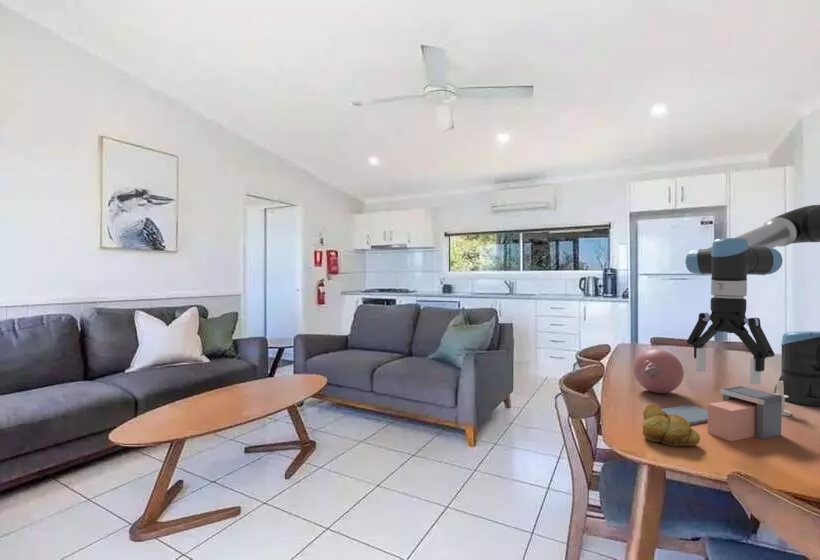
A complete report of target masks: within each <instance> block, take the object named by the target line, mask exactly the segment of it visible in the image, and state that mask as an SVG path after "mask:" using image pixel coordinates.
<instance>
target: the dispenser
mask: <svg viewBox="0 0 820 560" xmlns="http://www.w3.org/2000/svg"><path fill="white" fill-rule="evenodd" d="M719 391H720V395H722V402H723V401H728V400H734V399H743V400H746V401H750V402H754V403H757V427H756V436H755V437H756V438H758V439H761V440H764V439H771V438H773V437H778V436H781V435H782V417H783V415H782V396H780V395H776V394H774V393H771V392H767V391H762V390H758V389H755V388H750V387H746V386H743V385H739V386H733V387H726V388H720V390H719Z"/></svg>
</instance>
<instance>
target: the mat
mask: <svg viewBox="0 0 820 560" xmlns="http://www.w3.org/2000/svg"><path fill="white" fill-rule="evenodd" d="M660 409H661V410H662V411H664V412H665V413H666V414H667V415H670V414H671V415H672V414H675V415H678V416H681V417H683V418H684V419H686V420H687V421H688V422H689V423H690V425H691V426H693V425H696V424H697V425H698V424H702V423H708V409H704V408H700V407H697V406H694V405H691V404H685V405H678V406H672V407H665V408H660Z"/></svg>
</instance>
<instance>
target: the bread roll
mask: <svg viewBox="0 0 820 560" xmlns="http://www.w3.org/2000/svg"><path fill="white" fill-rule="evenodd" d="M661 409H662V408H660V407H658V406H656V405H654V404H648V405H646V406H645V408H644V410H643V412H642V416H643V419H644V420H643V422H642V435H643V436H644V437H645V438H646V439H647V440H648V441H651V442H661V443H662V444H665V445H667V446H674V447H677V446H678V447H679V446H684V447H693V446H696V445H698V444H699V443H700V441H701V437H700V434H699V433H698V432H697V431H696V430H695V429H693V428H692V425H690V423H689V422H688V421H687V420H686V419H684V418H683V417H681V416H678V415H675V414H672V415H671V414H670V415H667V414H666V413H665V412H664V411H662V410H661Z"/></svg>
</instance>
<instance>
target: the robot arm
mask: <svg viewBox="0 0 820 560" xmlns="http://www.w3.org/2000/svg"><path fill="white" fill-rule="evenodd" d="M800 243H801V244H803V243H820V204H812V205H811V204H810V205H807V206H802V207H798V208H796V209H793V210H790V211H788V212H784V213H782V214H780V215H777V216H775V217H772V218H770V219H768V220H767V221H765V222H764V224H763V225H761V226H759V227H757V228H754V229H752V230H749V231H747V232H744V233H742V234H740V235H738V236H735V237H728V238H727V237H726V238H725V237H724V238H716V239H714V240H713V242H712V246H711V247H709V248H704V249H703V248H699V249H693V250H690V251H689V252H687V253H688V254H686V257H685V267H686V269H687V270H688V272H690V273H692V274H696V275H698V274H699V275H701V276H703V275H711V279H710V280H711V282H710V295H711V296H713V297H711V298H710V310H711V314H710V313H709V312H700V313H699V314H698V319H697V322H696V323H695V326H694V328H693V329H692V331H691V332H690V335H689V336H688V338H687V341H686V343H687V344H688V345H691V346H692V347H693V348H694V349H693V357H694V359H696V361H695V364H696V366H695V367H696V368H695V371H696V372H698V373H700V372H706V371H707V370H706V369H707V368H706V367H707V366H706V364H707V363H706V361H707V347H705V345H706V344H707V343H708V342H709V341H710V340H711V339H712V338H713V337H714V336H715V335H716V334H717V333H719V332H721V333H723V332H725V333H728V334H734V335H736V336H737V337H738V338H739V339H740V341H741V342H742V343H743V345H744V346H745V347H746V348H747V350H748V351H749V352H750V353H751V354H752V356H753V357H750V364H749V365H750V368H749V374H750V375H749V385H758V384H759V385H760V384H761V380H762V379H761V374H762V373H761V372H764V371H765V362H766V361H765V359H767V358H773V357H775V352H774V350H773V348H772V346H771V344H770V342H769V340H768V338H767V336H766V334H765V332H764V330H763V328H762V326H761V318H759V317H750V318H748V317H746V312H747V299H746V298H744V297H746V296H747V295H748V293H747V292H748V281H747V280H748V278H747V277H748V276H749V275H750V276H751V275H757V276H765V275H771V274H774V273H777V272H778V271H779V270H780V268H782V265H783V261H784V260H783V256H782V254H781V253H780V251H779V250H777V249H776V247H786V246H789V245H792V244H800ZM709 322H712V323H711V325H709V326H708V327H707V325H708V323H709ZM745 325H746V326H747V327H748V328H749V330H748V329H747V328H746V327H745ZM706 327H707V329H706ZM705 329H706V331H705ZM704 331H705V332H704ZM749 331H750V333H751V334H752V336H751V335H750V333H749ZM703 332H704V333H703ZM780 346H781V362H780V363H781V369H780V370H781V373H780V376H779V378H778V380H777V381H783V385H784V395H787V396H789V397H788V398H785V402H789V403H794V404H799V405H804V406H810V407H811V406H812V407H820V330H819V331H818V330H817V331H814V330H811V331H809V330H808V331H788V332H785V333H783V334H782V338H781V344H780ZM773 391H774V393H773V394H776V391H777V383H776V385H775V386H774V389H773Z"/></svg>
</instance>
